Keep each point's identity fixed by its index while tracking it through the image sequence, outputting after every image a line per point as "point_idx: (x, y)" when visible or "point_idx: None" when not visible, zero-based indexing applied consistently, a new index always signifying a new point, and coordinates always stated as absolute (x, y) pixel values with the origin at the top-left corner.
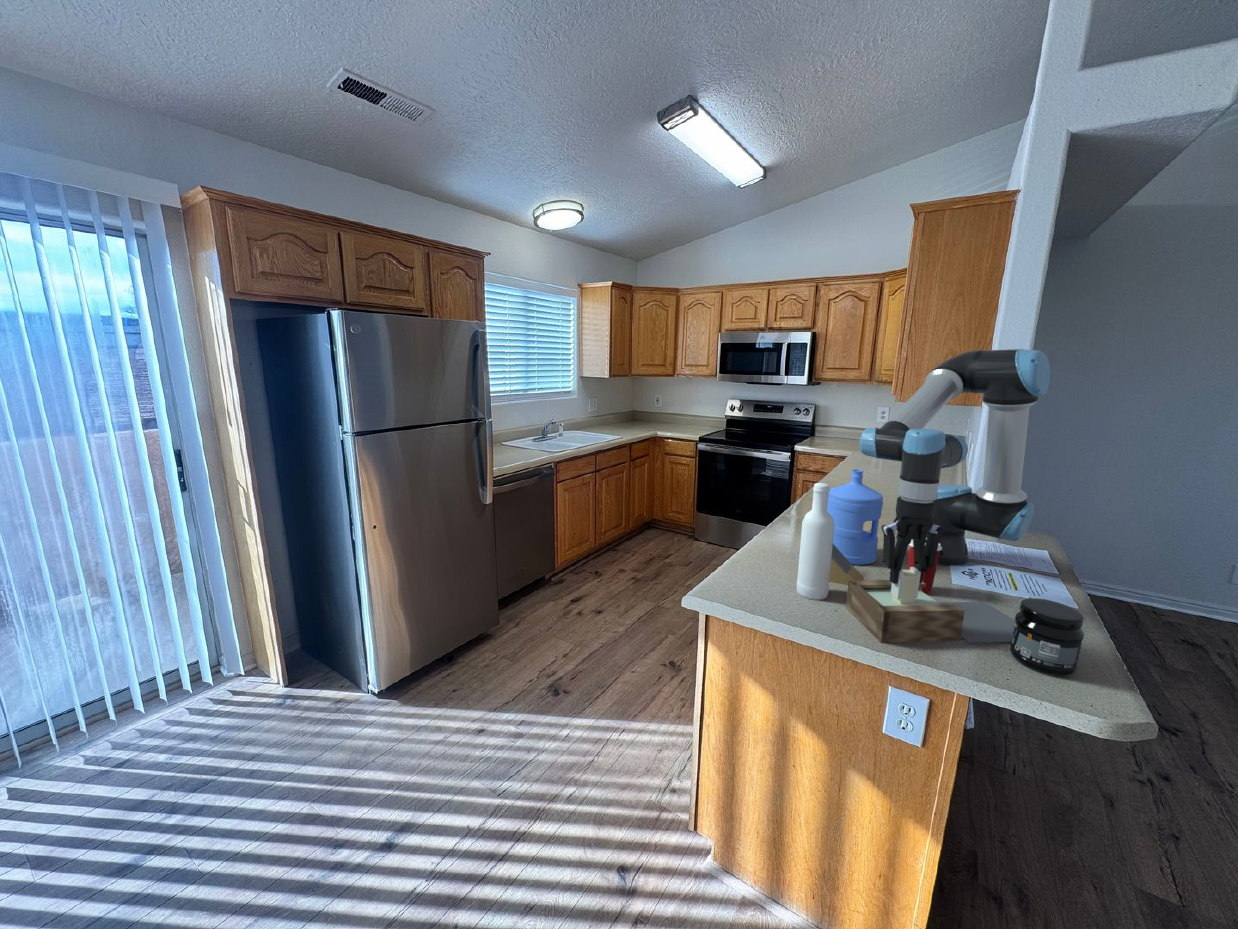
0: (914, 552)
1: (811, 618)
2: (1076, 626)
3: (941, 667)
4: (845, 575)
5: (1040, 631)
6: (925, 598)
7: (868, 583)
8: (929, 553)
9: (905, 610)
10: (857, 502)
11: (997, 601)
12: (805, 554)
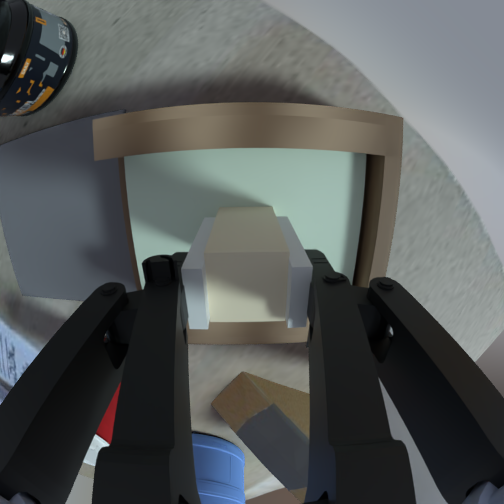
0: (187, 395)
1: (438, 242)
2: None
3: (269, 14)
4: (274, 399)
5: (23, 3)
6: (154, 247)
7: None
8: (90, 359)
9: (326, 111)
10: None
11: (7, 296)
12: None
